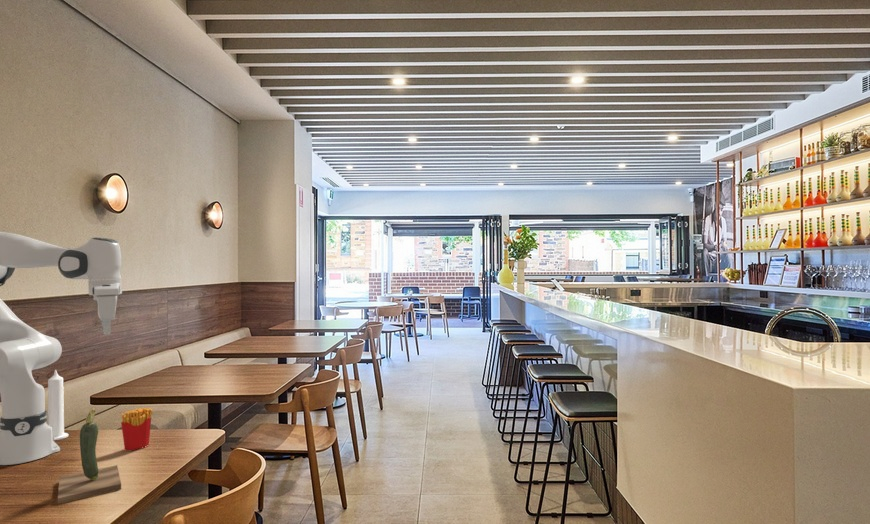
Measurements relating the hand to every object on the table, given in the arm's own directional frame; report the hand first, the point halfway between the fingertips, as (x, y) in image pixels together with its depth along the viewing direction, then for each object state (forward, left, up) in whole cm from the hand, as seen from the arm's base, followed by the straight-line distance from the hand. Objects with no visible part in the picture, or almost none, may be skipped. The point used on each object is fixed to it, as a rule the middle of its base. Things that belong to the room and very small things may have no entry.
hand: (106, 333), depth 157 cm
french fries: (-12, +9, -41) cm, 44 cm away
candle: (-44, -14, -41) cm, 62 cm away
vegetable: (+15, -5, -40) cm, 43 cm away
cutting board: (+15, -5, -41) cm, 44 cm away
